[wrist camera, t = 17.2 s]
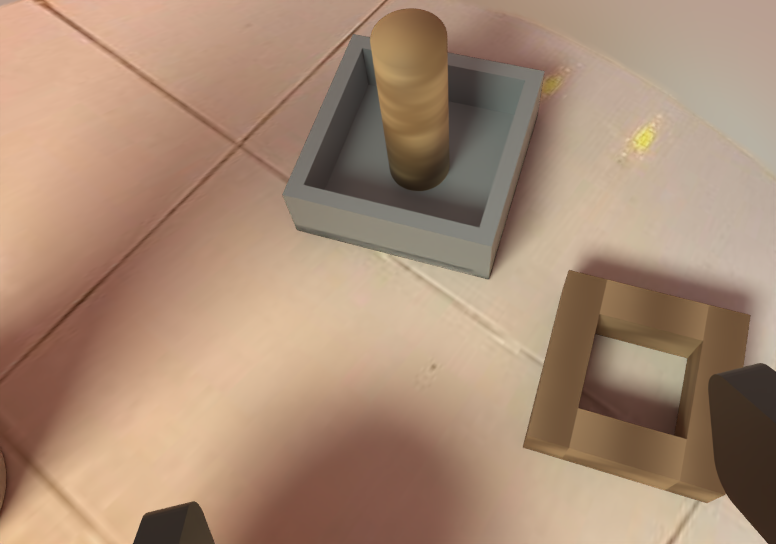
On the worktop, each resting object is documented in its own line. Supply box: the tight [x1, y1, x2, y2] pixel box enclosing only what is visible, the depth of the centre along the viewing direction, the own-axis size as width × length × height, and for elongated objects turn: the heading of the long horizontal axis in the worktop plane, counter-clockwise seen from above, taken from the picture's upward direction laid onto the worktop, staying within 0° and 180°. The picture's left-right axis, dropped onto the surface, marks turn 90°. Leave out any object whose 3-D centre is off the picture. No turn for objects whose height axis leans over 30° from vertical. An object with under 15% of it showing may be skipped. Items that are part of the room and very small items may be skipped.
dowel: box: [370, 8, 450, 191], centre depth 43 cm, size 4×4×12 cm
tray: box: [282, 34, 545, 279], centre depth 48 cm, size 13×13×4 cm
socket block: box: [523, 270, 750, 503], centre depth 41 cm, size 10×10×3 cm
